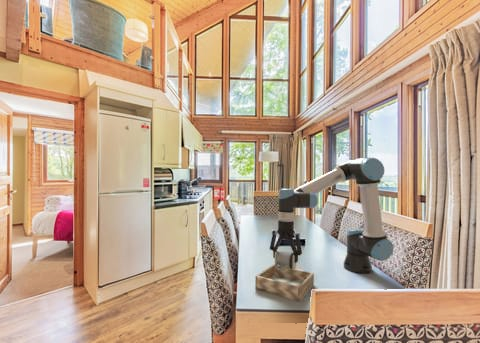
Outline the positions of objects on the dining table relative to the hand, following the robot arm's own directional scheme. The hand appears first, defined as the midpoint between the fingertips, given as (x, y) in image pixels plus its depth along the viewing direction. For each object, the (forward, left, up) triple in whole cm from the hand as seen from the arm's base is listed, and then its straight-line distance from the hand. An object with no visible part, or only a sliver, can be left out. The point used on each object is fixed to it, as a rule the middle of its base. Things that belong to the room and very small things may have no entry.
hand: (285, 266), depth 122 cm
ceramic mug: (0, +1, 0) cm, 1 cm away
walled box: (0, 0, -10) cm, 10 cm away
